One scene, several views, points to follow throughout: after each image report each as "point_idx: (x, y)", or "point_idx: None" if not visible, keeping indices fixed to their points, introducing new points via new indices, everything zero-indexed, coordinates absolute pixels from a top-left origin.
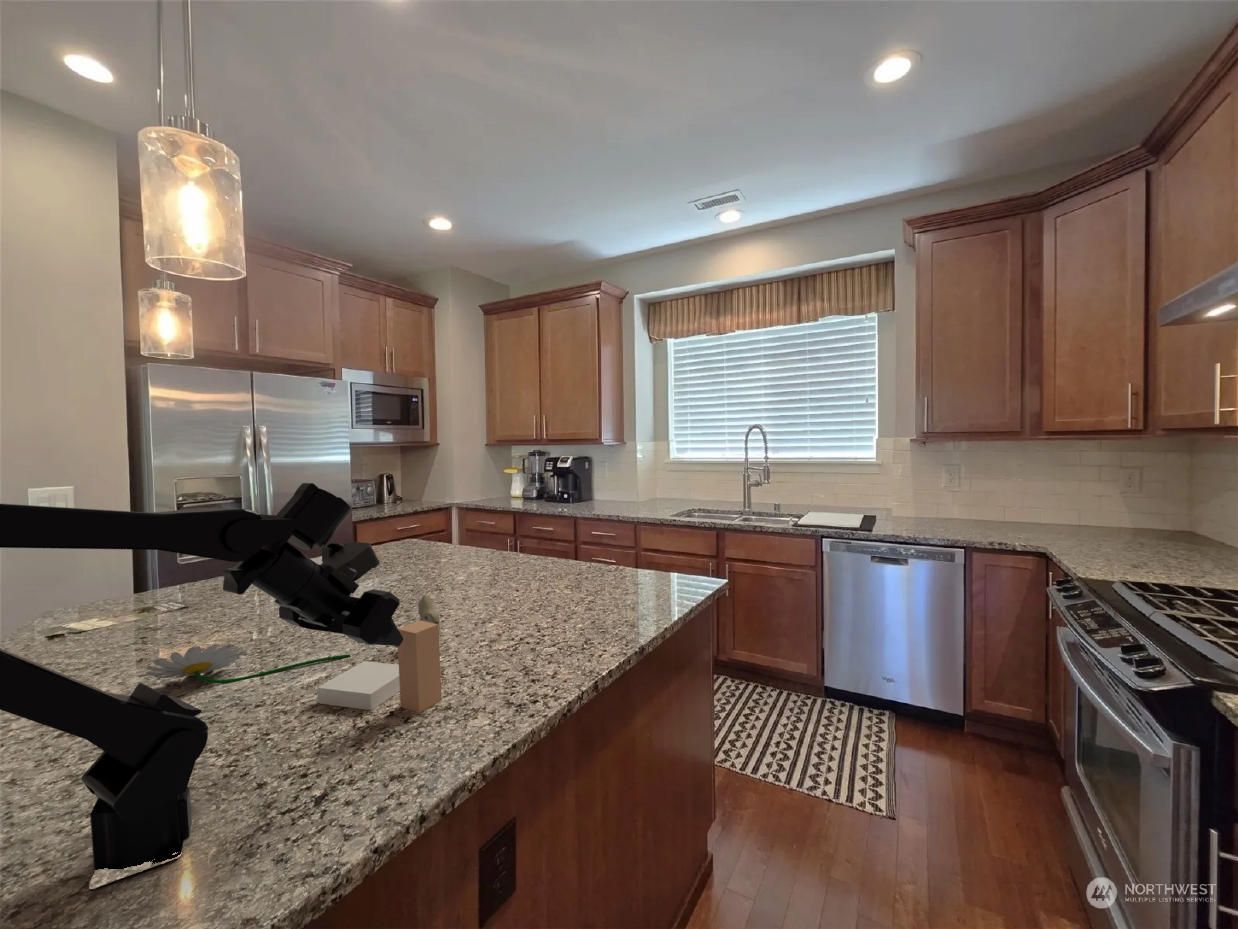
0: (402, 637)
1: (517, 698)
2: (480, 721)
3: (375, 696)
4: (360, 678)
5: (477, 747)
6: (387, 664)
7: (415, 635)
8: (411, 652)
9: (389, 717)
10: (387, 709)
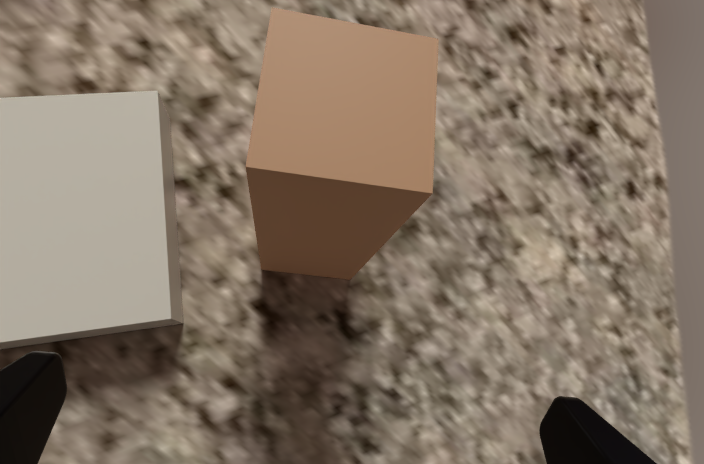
0: (596, 414)
1: (542, 127)
2: (541, 256)
3: (174, 298)
4: (11, 232)
5: (624, 362)
6: (31, 104)
7: (425, 197)
8: (361, 225)
9: (279, 334)
10: (231, 298)
